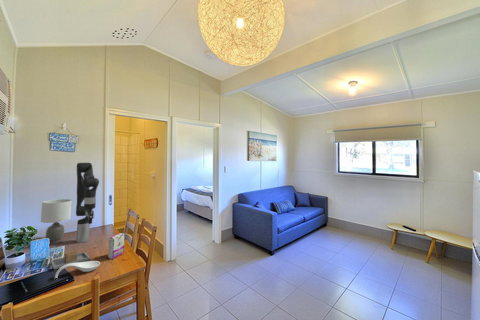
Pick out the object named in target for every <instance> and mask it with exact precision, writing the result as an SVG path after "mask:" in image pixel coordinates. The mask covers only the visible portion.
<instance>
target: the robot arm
mask: <svg viewBox="0 0 480 320" xmlns="http://www.w3.org/2000/svg"><path fill="white" fill-rule="evenodd" d="M82 174H83V175H82ZM76 180H77V182H76V207H75V213H76V214H75V216H77V217H83V218H80V219H78V220H77V224H76V225H77V226H76V236H75V237H76V239H75V240H76V241H75V242H76V243H77V244H83V243H86V242H89V240H90V225H91V224H92V223H93V219H94V215H95V213H94V210H93V209H95V208H96V202H97V200H96V197H97V196H96V195H97V190H98V186H99V184H100V179H99V178H96V176H95V175H94V170H93V165H92V163H91V162H78V163H77V164H76ZM90 188H91V189H90ZM82 204H83V205H82Z"/></svg>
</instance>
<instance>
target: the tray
mask: <svg viewBox="0 0 480 320" xmlns="http://www.w3.org/2000/svg"><path fill="white" fill-rule="evenodd" d="M64 259H65V256H63V257H59V258H55V259H52V260H50V266H51V267H52V270H53V269H58V268H61V267H62V266H64V265H66V264H70V263H78V262H87V261H91V257H90V256H89V255H88V254H87V252H85V251H83V252H77V261H73V262H70V263H65V261H64Z"/></svg>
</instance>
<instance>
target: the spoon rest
mask: <svg viewBox="0 0 480 320" xmlns="http://www.w3.org/2000/svg"><path fill="white" fill-rule="evenodd" d="M100 266H101V262H100V261H99V260H90V261H86V262H78V263H70V264H66V265H64V266H62V267H61V268H59V269H58V270H56V272H55V275H54V279H55V278H57V279H58V276H59V274H60V273H61V271H63V270H65V269H66V268H69V267H70V268H71V267H72V268H76V269H78V270H79V271H81V272H83V273H89V272H92V271H94V270H97V268H98V267H100Z"/></svg>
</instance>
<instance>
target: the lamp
mask: <svg viewBox="0 0 480 320" xmlns="http://www.w3.org/2000/svg"><path fill="white" fill-rule="evenodd" d="M71 214H72V199H70V198H69V199H67V198H66V199H65V198H61V199H60V198H58V199H49V200H44V201H41V213H40V222H41V223H43V224H51V223H52V224H51V225H50V226H48V227H47V229H46V232H45V239H46V238H49V239H50V241H49V242H55V241H60V239H62V238H63V237H64V236H65V226H64V225H63V224H61V223H60V222H65V221H68V220H70V219H71Z"/></svg>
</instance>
